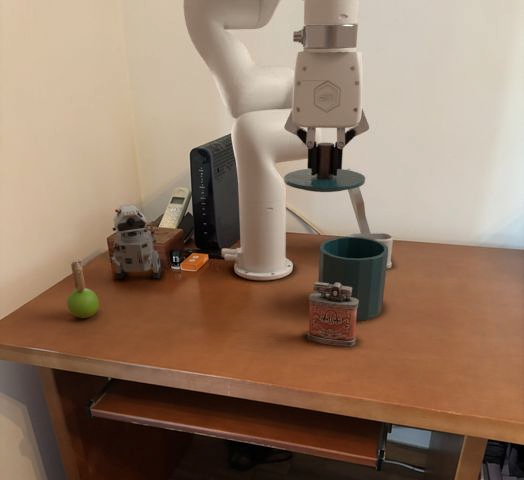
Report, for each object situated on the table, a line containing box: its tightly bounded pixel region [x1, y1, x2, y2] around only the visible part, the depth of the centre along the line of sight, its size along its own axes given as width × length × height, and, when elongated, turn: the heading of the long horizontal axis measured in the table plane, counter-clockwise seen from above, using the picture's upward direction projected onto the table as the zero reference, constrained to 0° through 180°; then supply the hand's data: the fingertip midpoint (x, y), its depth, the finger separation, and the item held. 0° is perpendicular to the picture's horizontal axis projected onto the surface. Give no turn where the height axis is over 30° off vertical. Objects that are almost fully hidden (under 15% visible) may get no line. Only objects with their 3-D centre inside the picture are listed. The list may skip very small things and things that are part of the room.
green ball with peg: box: [66, 259, 100, 319], centre depth 97 cm, size 5×6×12 cm
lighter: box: [307, 281, 359, 347], centre depth 89 cm, size 8×3×10 cm, turn 71°
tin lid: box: [283, 142, 366, 193], centre depth 86 cm, size 13×13×6 cm
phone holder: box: [345, 168, 394, 269], centre depth 120 cm, size 17×10×18 cm, turn 179°
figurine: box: [111, 204, 163, 280], centre depth 111 cm, size 9×12×15 cm
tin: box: [317, 236, 388, 322], centre depth 99 cm, size 12×12×12 cm
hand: (324, 172), depth 87 cm, fingers closed on tin lid, 2 cm apart
